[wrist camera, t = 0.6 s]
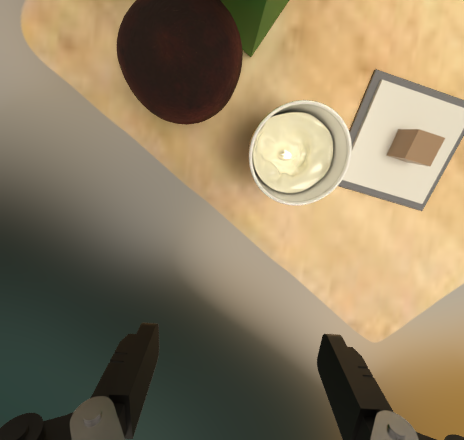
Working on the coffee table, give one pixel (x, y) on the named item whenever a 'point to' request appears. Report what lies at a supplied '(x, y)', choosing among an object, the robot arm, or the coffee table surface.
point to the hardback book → (254, 19)
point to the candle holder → (300, 152)
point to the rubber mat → (361, 114)
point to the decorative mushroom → (180, 57)
